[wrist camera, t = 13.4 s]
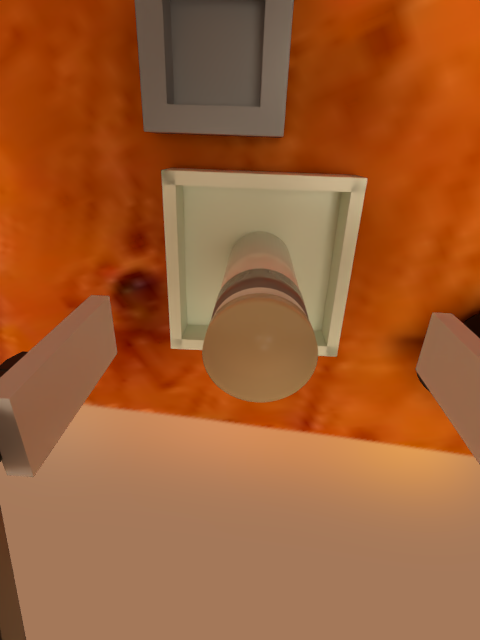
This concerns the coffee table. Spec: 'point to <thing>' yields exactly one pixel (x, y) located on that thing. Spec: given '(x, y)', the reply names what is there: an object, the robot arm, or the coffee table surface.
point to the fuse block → (214, 66)
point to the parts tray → (259, 216)
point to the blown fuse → (260, 324)
